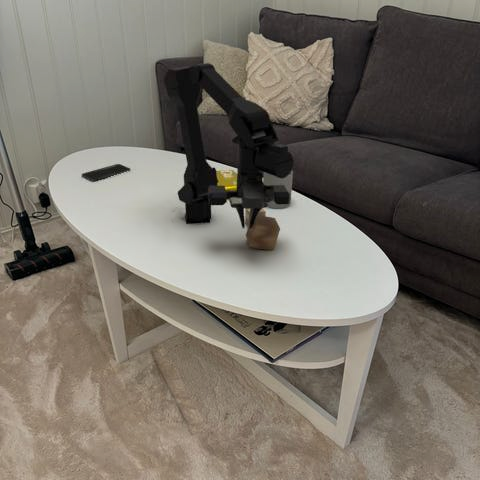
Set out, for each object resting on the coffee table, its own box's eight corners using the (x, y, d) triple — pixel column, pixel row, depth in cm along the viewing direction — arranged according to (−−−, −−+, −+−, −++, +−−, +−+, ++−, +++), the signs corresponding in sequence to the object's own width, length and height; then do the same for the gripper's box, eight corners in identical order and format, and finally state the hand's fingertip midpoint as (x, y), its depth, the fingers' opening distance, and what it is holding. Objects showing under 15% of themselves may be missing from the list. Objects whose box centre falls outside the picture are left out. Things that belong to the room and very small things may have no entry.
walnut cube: (249, 247, 112) (256, 224, 110) (245, 235, 118) (251, 213, 115) (273, 250, 114) (280, 228, 111) (268, 239, 119) (274, 217, 116)
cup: (288, 210, 135) (291, 177, 130) (260, 207, 136) (261, 175, 132) (291, 199, 142) (294, 167, 137) (265, 196, 144) (266, 165, 139)
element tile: (188, 186, 151) (188, 172, 149) (232, 181, 156) (232, 167, 153) (200, 204, 139) (199, 189, 137) (247, 198, 143) (248, 183, 141)
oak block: (251, 230, 124) (251, 213, 121) (245, 224, 127) (245, 207, 124) (264, 228, 125) (265, 211, 123) (258, 222, 128) (259, 205, 126)
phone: (80, 174, 156) (118, 163, 166) (80, 177, 157) (119, 166, 166) (92, 180, 151) (131, 169, 161) (93, 183, 152) (132, 172, 162)
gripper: (212, 178, 98) (210, 244, 105) (299, 177, 100) (292, 242, 107) (207, 161, 107) (206, 223, 114) (287, 161, 110) (281, 221, 117)
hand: (246, 227), depth 113 cm, fingers closed
